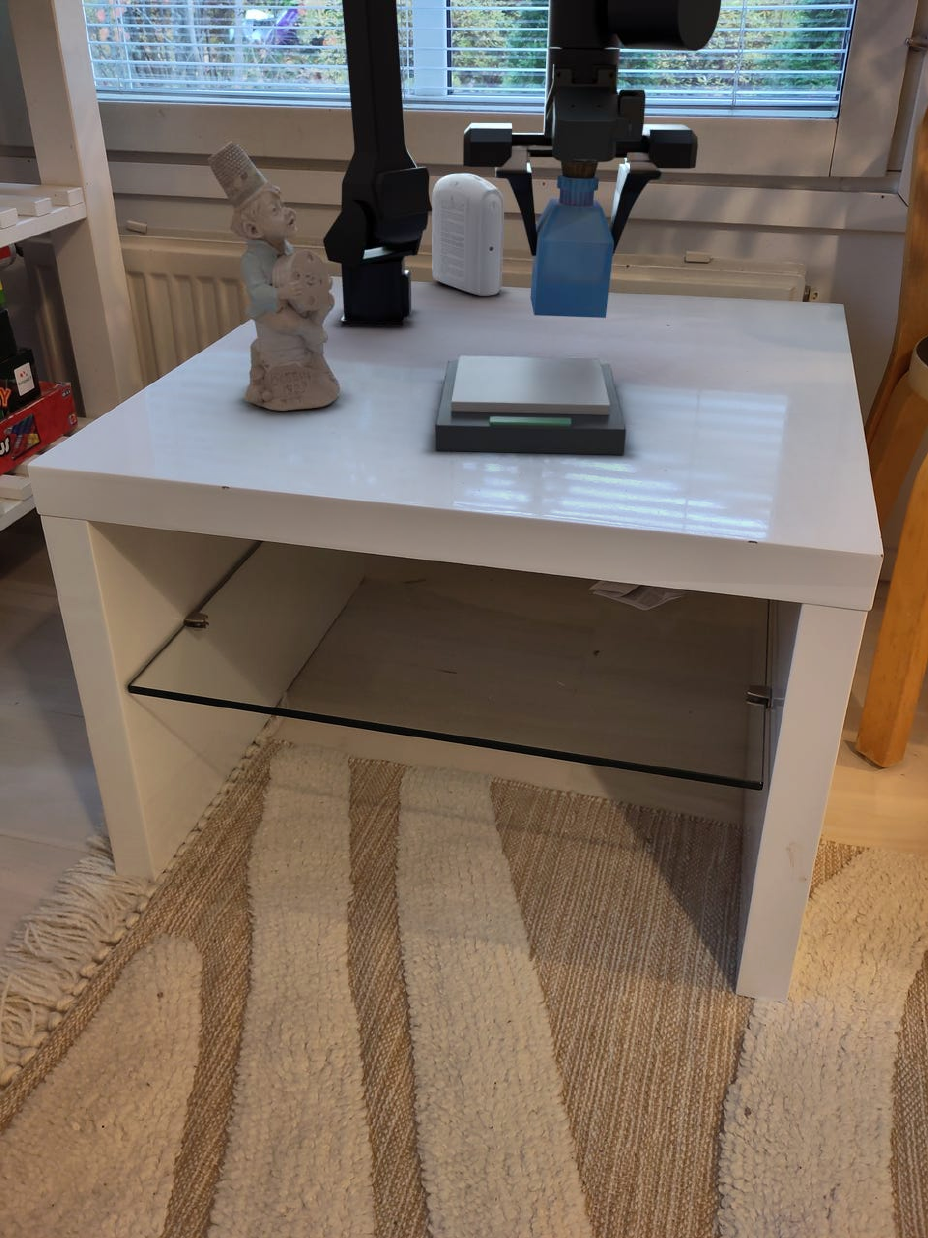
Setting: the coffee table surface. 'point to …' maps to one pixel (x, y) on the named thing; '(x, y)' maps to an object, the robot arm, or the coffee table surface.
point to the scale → (529, 406)
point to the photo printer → (467, 234)
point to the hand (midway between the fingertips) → (571, 255)
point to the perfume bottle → (573, 248)
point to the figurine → (278, 291)
